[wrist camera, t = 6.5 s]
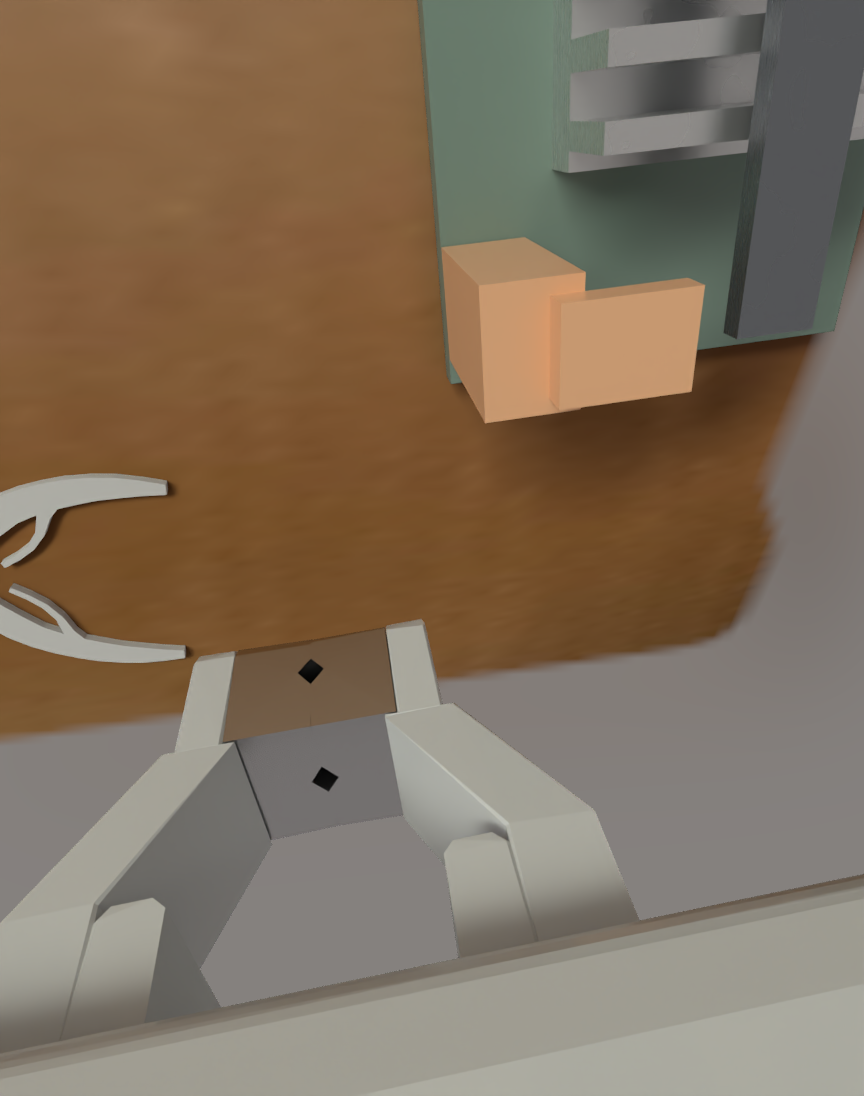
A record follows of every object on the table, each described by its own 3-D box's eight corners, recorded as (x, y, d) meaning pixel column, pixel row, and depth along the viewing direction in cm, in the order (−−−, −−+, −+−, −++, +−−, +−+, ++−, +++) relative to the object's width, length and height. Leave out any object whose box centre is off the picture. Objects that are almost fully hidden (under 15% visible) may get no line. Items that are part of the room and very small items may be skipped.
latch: (441, 247, 24) (486, 293, 17) (606, 227, 24) (707, 265, 18) (449, 359, 26) (492, 436, 20) (600, 339, 26) (689, 407, 20)
